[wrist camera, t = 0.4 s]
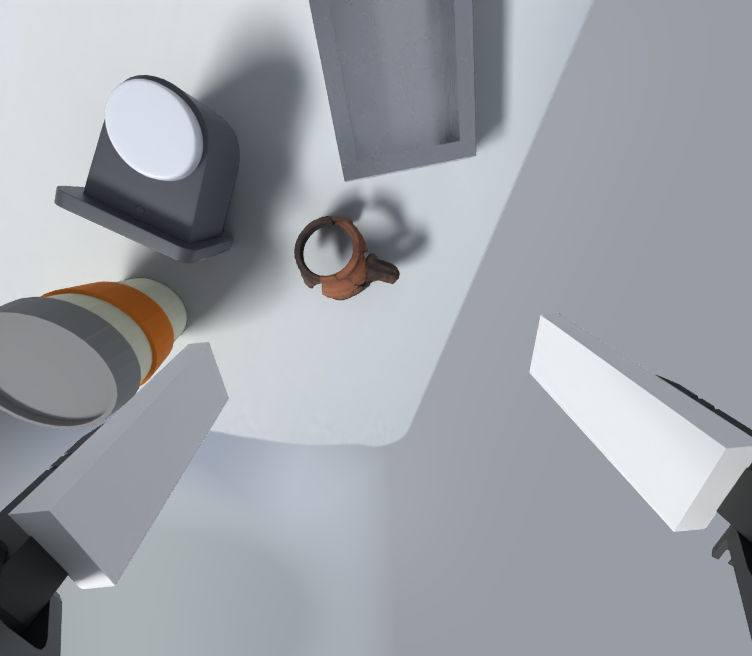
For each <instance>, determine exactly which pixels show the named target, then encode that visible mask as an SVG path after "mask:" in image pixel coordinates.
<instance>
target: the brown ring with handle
mask: <svg viewBox="0 0 752 656" xmlns="http://www.w3.org/2000/svg"><path fill="white" fill-rule="evenodd" d="M330 225H339V226H341V227H342V228H343V229H344V230H345V231H347V232H348V234H349V235H350V237H351V239H352V242H353V254H352V257H351V259H350V261H349V263H348V264H347V265H346V267H345V268H344V269H342V270H341V271H340V272H338V273H336V274H333V275H329V276H320V275H317V274H315V273H313V272H311V271H310V270H309V269H308V267H307V266H306V264H305V262H304V257H303V251H304V247H305V244H306V242H307V240H308V238H309V237H310V236H311V235H312V234H313V233H314V232H315V231H316V230H318V229H320V228H322V227H325V226H330ZM294 250H295V251H294V253H295V259H296V264H297V265H298V268H299V269H300V272H301V276H302V278H303V279H304V283H305V284H306V285H307V286H308V287H309V288H313V286H315V285H317V284H320V283H322V294H323V295H325V296H326V297H328V298H333V299H335V300H345V299H348V298H351V297H353V296H355V295H357V294H359V293H360V292H362V291H363V290H365V289H366V288H367V287H368V286H369V285H370V283H371V282H373V281H378V280H379V281H383V282H386V283H391V284H394V283H395V282H396V280H398V279H399V275H400V273H399V271H398V268H397V267H396V266H395V265H393V264H391V263H388V262H385V261H382V260H379V259H378V258H377V256H376V254H374V253H372V254H369V255H368V256H367V258H366V259H365V257H364V253H365V252H367V251H368V248H367V246H366V243H365V241H364V238H363V236H362V235H361V233H360V232H359V231H358V229H357V228H356V227H355V226H354V225H353V222H352V221H351V220H349V219H346V218H340V217H336V218H333V217H332V218H330V217H329V216H326V217H321V218H319V219H317V220H314V221H312V222H311V223H309V224H308V225H307V226H306V227H305V228H304V230H303V231H302V232H301V233H300V235H299V236H298V239H297V241H296V244H295V249H294Z"/></svg>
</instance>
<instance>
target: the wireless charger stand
mask: <svg viewBox="0 0 752 656" xmlns="http://www.w3.org/2000/svg"><path fill="white" fill-rule="evenodd" d="M238 166H239V145H238V141H237V138H236V136H235V134H234V132H233V130H232V129H231V127H230V126H229V125H228V123H227V122H226V121H225V120H224V119H223V118H222V117H221V116H219V115H218V114H216V113H215V112H214V111H212V110H211V109H209V108H208V107H206V106H205V105H203V104H202V103H200V102H199V101H197V100H196V99H194V98H193V97H191V96H190V95H188V94H187V93H185V92H184V91H182V90H181V89H180V88H178V87H177V86H175V85H174V84H172V83H170V82H168V81H166V80H164V79H161V78H158V77H155V76H149V75H137V76H134V77H131V78H129V79H127V80H125V81H124V82H123V83H121V84H120V85H118V86H117V87H116V88H115V89H114V90H113V91H112V93H111V94H110V96H109V98H108V101H107V104H106V109H105V120H104V123H103V127H102V130H101V133H100V137H99V140H98V144H97V147H96V150H95V154H94V157H93V161H92V164H91V168H90V171H89V175H88V178H87V182H86V185H85V187H72V186H58V187H57V189H56V195H55V204H56V205H58V206H60V207H61V208H63V209H66V210H68V211H70V212H72V213H74V214H77V215H79V216H81V217H83V218H85V219H87V220H90V221H92V222H94V223H96V224H98V225H101V226H103V227H105V228H107V229H109V230H112V231H114V232H116V233H118V234H120V235H122V236H125V237H127V238H129V239H131V240H133V241H136V242H138V243H140V244H142V245H144V246H146V247H149V248H151V249H153V250H155V251H157V252H160V253H162V254H164V255H166V256H168V257H171V258H173V259H175V260H178V261H180V262H184V263H195V262H198V261H202V260H205V259H206V258H208V257H211V256H214V255H217V254H219V253H222V252H224V251H227V250H229V249H230V247H231V244H232V241H233V238H232V237H231V236H229V235H227V234H226V233H224V232H222V229H223V226H224V222H225V218H226V214H227V210H228V206H229V203H230V199H231V195H232V191H233V187H234V183H235V179H236V175H237V171H238Z"/></svg>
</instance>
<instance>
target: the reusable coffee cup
mask: <svg viewBox="0 0 752 656" xmlns="http://www.w3.org/2000/svg"><path fill="white" fill-rule="evenodd" d="M186 323H187V313H186V309H185V307H184V304H183V303H182V301H181V300H180V298H179V297H178V296H177V295H176V294H175V292H173V291H172V290H171V289H170V288H168V287H167V286H165V285H163V284H162V283H160V282H157V281H155V280H151V279H147V278H135V279H129V280H124V281H119V282H96V283H90V284H85V285H80V286H75V287H70V288H65V289H60V290H55V291H52V292H49V293H46V294H44V295H42V296H41V297H30V298H21V299H18V300H15V301H12V302H10V303H7V304H5V305H3V306H1V307H0V409H1V410H3V411H5V412H6V413H9V414H10V415H12V416H14V417H16V418H19V419H21V420H23V421H26V422H29V423H32V424H35V425H39V426H43V427H48V428H55V429H71V430H72V429H79V428H86V427H89V426H93V425H95V424H97V423H99V422H101V421H103V420H104V419H106V418H107V417H108V416H110V415H111V414H113V413H114V412H115V411H117V410H118V409H119V408H121V407H122V406H123V405H125V404H126V403H127V402H128V401H129V400H130V399H131V398H132V397H133V396H134V395H135V394H136V392H137V390H138V389H139V386H141V385H143V384H144V383H145V382H146V381H147V380H148V379H150V377H151V376H152V375H153V374H154V372H155V371H156V370H157V369H158V367H159V366H160V365H161V364H162V362H163V361H164V360H165V359H166V357H167V356H168V355H169V353H170V351H171V350H172V347H173V343H174V342H175V340H176V339H177V338H178V337H179V336H180V334H181V333H182V332H183V330H184V329H185V327H186Z"/></svg>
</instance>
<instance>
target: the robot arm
mask: <svg viewBox="0 0 752 656" xmlns="http://www.w3.org/2000/svg"><path fill="white" fill-rule="evenodd" d="M530 374H531V375H533V377H534V378H535V379H536V380H537V381H538V382H539V383H540V385H541V386H542V387H543V388H544V389H545V390H546V391H547V392H548V393H549V394H550V396H551V397H552V398H553V399H554V400H555V401H556V402H557V403H558V404H559V406H560V407H561V408H562V409H563V410H564V411H565V412H566V413H567V414H568V415H569V417H570V418H571V419H572V420H573V421H574V422H575V423H576V424H577V425H578V426H579V428H580V429H581V430H582V431H583V432H584V433H585V434H586V435H587V436H588V437H589V439H590V440H592V442H593V443H594V444H595V445H596V446H597V447H598V449H599V450H600V451H601V452H602V453H603V454H604V455H605V456H606V457H607V458H608V459H609V461H610V462H611V463H612V464H613V465H614V466H615V467H616V468H617V469H618V471H619V472H620V473H621V474H622V475H623V476H624V477H625V478H626V479H627V481H628V482H629V483H630V484H631V485H632V486H633V487H634V488H635V489H636V490H637V492H638V493H639V494H640V495H641V496H642V497H643V498H644V499H645V500H646V501H647V503H648V504H649V505H650V506H651V507H652V508H653V509H654V510H655V511H656V512H657V513H658V515H659V516H660V517H661V518H662V519H663V520H664V521H665V522H666V524H668V526H669V527H670V528H671V529H672V530H673V531H674V532H676V531H686V530H697V529H705V528H706V527H707V526H708V524H709V523H710V521H711V520H712V519H713V517H714V515H715V514H716V513H717V512H718V513H719V514H720V515H721V516H722V517H723V518H724V519H726V520H727V521H728V522H729V523H730V524H731V525H730V526H729V528H728V529H727V530H726V532H725V533H724V534H723V536H722V537H721V538H720V540H719V541H718V542H717V544H716V545H715V546H714V547H713V550H712V557H714V558H717V559H719V558H720V557H721V556H722V554H723V553H724V552H725V550H727V549H728V550H729V551H730V555H731V560H730V561H729V562H728V563H729V564H730V565H732V566H733V567H734V571H735V575H736V579H737V583H738V587H739V590H740V595H741V599H742V603H743V607H744V611H745V615H746V619H747V623H748V627H749V631H750V635H751V639H752V430H751V429H750V428H748V427H746V426H745V425H743V424H741V423H740V422H738V421H737V420H735V419H734V418H732V417H730V416H729V415H727V414H726V413H724V412H722V411H721V410H719V409H715V408H714V406H713V405H711V404H710V403H708V402H706V401H705V400H703V399H699V398H698V396H697V395H695V394H693V393H692V392H690V391H689V390H687V389H686V388H684V387H682V386H681V385H679V384H677V383H675V382H672V381H670V380H668V379H665V378H663V377H660V376H658V375H655V374H653V373H651V372H650V371H648V370H647V369H645V368H644V367H642V366H641V365H639V364H637V363H636V362H634V361H633V360H631V359H630V358H628V357H626V356H625V355H623V354H622V353H620V352H619V351H617V350H615V349H614V348H612V347H611V346H609V345H608V344H606V343H605V342H603V341H601V340H600V339H599V338H597V337H595V336H594V335H592V334H591V333H589V332H588V331H586V330H585V329H583V328H581V327H580V326H578V325H577V324H575V323H574V322H572V321H571V320H569V319H568V318H566V317H564V316H563V315H561V314H560V313H559V314H548V315H541V317H540V322H539V326H538V332H537V337H536V342H535V347H534V352H533V358H532V362H531V368H530ZM228 399H229V397H228V395H227V392H226V389H225V386H224V383H223V381H222V378H221V375H220V372H219V369H218V367H217V364H216V361H215V358H214V355H213V353H212V350H211V347H210V344H209V342H206V343H194V344H188V345H187V346H186V347H185V348H184V349H183V350H182V351H181V352H180V353H179V354H178V355H177V356H176V357H175V358H174V359H173V360H171V361H170V362H169V363H168V364H167V365H166V366H165V367H164V368H163V369H162V370H161V371H160V372H159V373H158V374H157V375H156V376H154V377H153V378H152V379H151V380H150V381H149V382H148V383H147V384H146V385H145V386H144V387H143V388H142V389H141V390H140V391H139V392H137V393H136V394H135V395H134V396H133V397H132V398H131V399H130V400H129V401H128V402H127V403H126V404H125V405H124V406H123V407H122V408H121V409H119V410H118V412H116V413H115V414H114V415H113V416H112V417H111V418H110V419H109V420H108V421H107V422H106V423H104V424H102V425H101V426H99V427H97V428H96V429H95V430H93V431H91V432H90V433H88V434H87V435H85V436H83V437H82V438H81V439H80V440H79V441H77V443H75V444H74V445H73V446H72V447H71V448H70V449H69V450H68V451H67V452H66V453H65V455H64V456H62V457H60V458H59V459H58V460H57V461H56V462H55V463H53V464H52V465H51V466H50V469H49V470H46V471H45V472H44V473H43V474H41V475H40V476H39V477H38V478H37V479H36V480H35V481H34V482H33V483H32V484H31V485H29V486H28V487H27V488H26V489H25V490H24V491H23V492H22V493H21V494H20V495H18V496H17V497H16V498H15V499H14V500H13V501H12V502H11V503H10V504H9V505H8V506H6V507H5V508H4V509H3V510H2V511H1V512H0V656H60V650H61V619H62V601H61V598H60V595H59V594H58V593H57V592H56V590H57V589H58V588H59V586H60V585H61V584H62V582H63V581H64V580H65V578H66V577H67V576H69V577H70V578H71V579H72V580H73V581H74V582H75V583H76V584H77V585H78V586H79V587H80V588H81V589H87V588H97V587H108V586H115V585H116V584H117V582H118V580H119V579H120V577H121V575H122V574H123V572H124V570H125V569H126V567H127V566H128V564H129V562H130V560H131V559H132V557H133V556H134V554H135V552H136V551H137V549H138V547H139V546H140V544H141V542H142V541H143V539H144V537H145V536H146V534H147V532H148V531H149V529H150V528H151V526H152V524H153V522H154V521H155V519H156V518H157V516H158V514H159V513H160V511H161V509H162V508H163V506H164V504H165V503H166V501H167V499H168V498H169V496H170V495H171V493H172V491H173V490H174V488H175V486H176V485H177V483H178V481H179V480H180V478H181V476H182V474H183V473H184V471H185V470H186V468H187V467H188V465H189V463H190V462H191V460H192V458H193V457H194V455H195V453H196V452H197V450H198V448H199V447H200V445H201V443H202V442H203V440H204V438H205V437H206V435H207V434H208V432H209V430H210V429H211V427H212V425H213V424H214V422H215V420H216V419H217V417H218V415H219V414H220V412H221V410H222V409H223V407H224V405H225V404H226V402H227V401H228Z"/></svg>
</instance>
